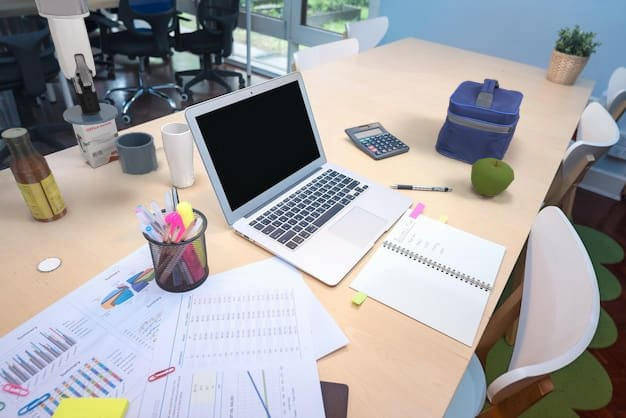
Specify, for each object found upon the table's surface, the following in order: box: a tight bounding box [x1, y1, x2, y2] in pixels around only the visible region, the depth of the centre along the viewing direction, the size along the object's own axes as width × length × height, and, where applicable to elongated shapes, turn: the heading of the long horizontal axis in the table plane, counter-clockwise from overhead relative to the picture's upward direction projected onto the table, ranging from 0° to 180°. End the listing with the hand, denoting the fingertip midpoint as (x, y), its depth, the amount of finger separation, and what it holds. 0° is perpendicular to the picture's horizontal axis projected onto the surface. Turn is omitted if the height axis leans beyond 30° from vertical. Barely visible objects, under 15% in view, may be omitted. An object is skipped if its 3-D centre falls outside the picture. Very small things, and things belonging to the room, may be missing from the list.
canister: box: [115, 131, 159, 176], centre depth 99 cm, size 9×9×8 cm
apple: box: [470, 158, 515, 197], centre depth 104 cm, size 11×10×10 cm
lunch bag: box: [434, 78, 524, 165], centre depth 125 cm, size 31×21×20 cm
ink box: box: [71, 118, 120, 169], centre depth 100 cm, size 9×5×12 cm, turn 144°
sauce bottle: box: [1, 127, 68, 223], centre depth 78 cm, size 6×6×20 cm
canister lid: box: [62, 80, 119, 125], centre depth 76 cm, size 10×10×7 cm
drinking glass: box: [160, 121, 195, 189], centre depth 93 cm, size 7×7×15 cm
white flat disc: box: [36, 256, 63, 274], centre depth 72 cm, size 4×4×1 cm
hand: (89, 107), depth 77 cm, fingers closed on canister lid, 3 cm apart
